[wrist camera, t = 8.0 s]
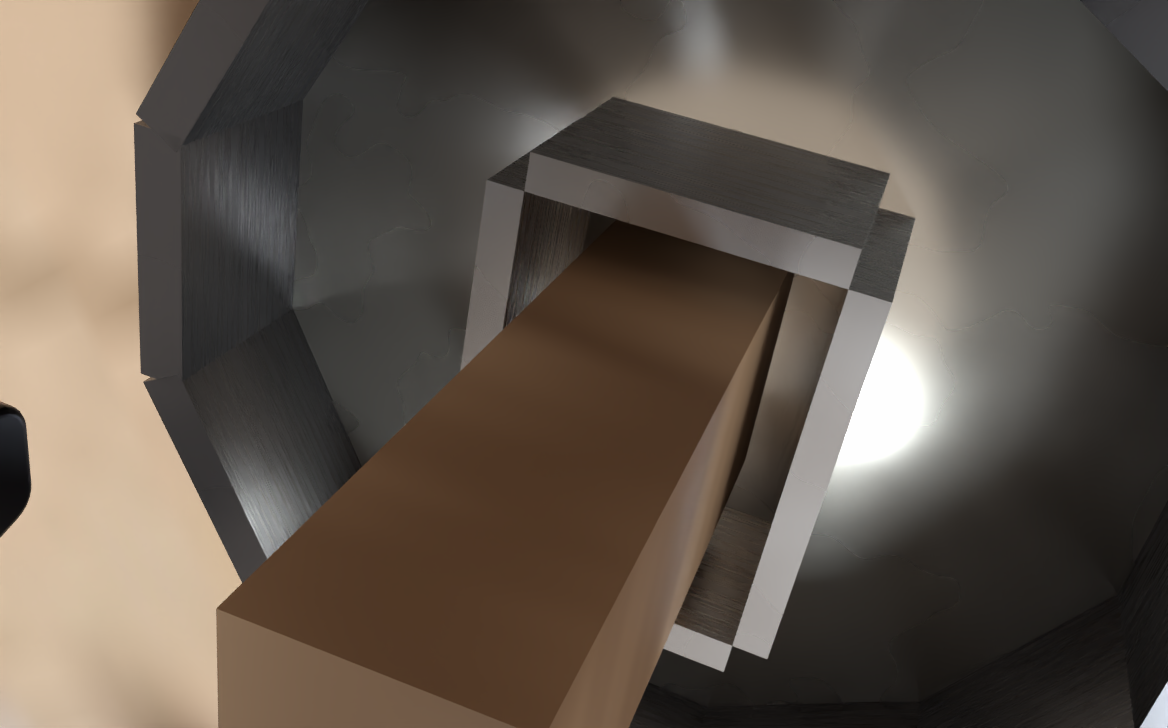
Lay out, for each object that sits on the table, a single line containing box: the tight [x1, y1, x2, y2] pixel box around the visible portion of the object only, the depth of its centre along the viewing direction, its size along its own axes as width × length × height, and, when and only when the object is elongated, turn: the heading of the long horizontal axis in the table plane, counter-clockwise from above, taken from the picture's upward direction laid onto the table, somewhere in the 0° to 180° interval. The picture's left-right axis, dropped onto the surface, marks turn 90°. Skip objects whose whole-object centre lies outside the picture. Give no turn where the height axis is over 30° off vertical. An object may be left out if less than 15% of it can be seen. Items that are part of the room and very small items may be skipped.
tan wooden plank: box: [216, 219, 795, 728], centre depth 10 cm, size 2×3×8 cm, turn 171°
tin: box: [134, 0, 1168, 728], centre depth 13 cm, size 12×12×3 cm
